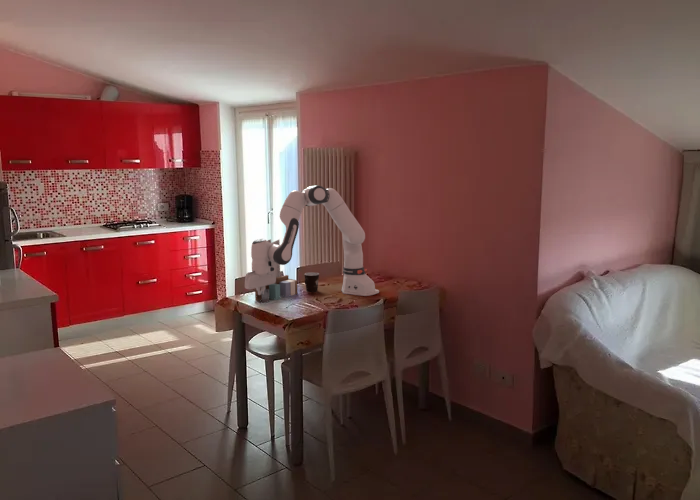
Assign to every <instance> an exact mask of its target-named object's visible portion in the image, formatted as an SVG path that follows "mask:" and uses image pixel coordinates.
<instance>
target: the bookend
mask: <svg viewBox="0 0 700 500" xmlns="http://www.w3.org/2000/svg"><path fill="white" fill-rule="evenodd" d="M255 301H256V303H259V304H266V303H268V302H270V299H269V289H266V288H265V290H264V294H262V299H261V300H255Z"/></svg>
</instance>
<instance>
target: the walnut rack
mask: <svg viewBox="0 0 700 500" xmlns="http://www.w3.org/2000/svg"><path fill="white" fill-rule="evenodd" d="M286 280H293V281H295V295H297V294H298V291H299V290H298V287H299V286H298V280H297V279H292V278H289V274H285V275H280V277H276V282H275V283H274V284H279V282H282V281H286ZM279 285H280V284H279ZM260 288H261V287H260ZM265 288H266V289H269V285H266V286H265ZM260 291H261V289H260ZM254 295H255V296H254V301H258V300H262V295H258V291H257V290H256V288H254ZM298 295H299V294H298Z"/></svg>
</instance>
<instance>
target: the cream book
mask: <svg viewBox="0 0 700 500" xmlns="http://www.w3.org/2000/svg"><path fill="white" fill-rule="evenodd" d="M293 280H294V279H293ZM293 280H286V281H287V282H290V293H291V296H295V295H296V294H295V281H293ZM291 296H290V297H291Z"/></svg>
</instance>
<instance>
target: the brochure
mask: <svg viewBox="0 0 700 500" xmlns="http://www.w3.org/2000/svg"><path fill="white" fill-rule="evenodd" d="M267 241H268V242H270V243H273V244H277V245H281V244H280V239H277V240H275V241H273V242H272V239H271V238H270V239H268V240H267ZM268 266H272V267H275V273H276V277H280V276H281V265H280V264H278V263H275V262H272V261H269V262H268Z"/></svg>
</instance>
